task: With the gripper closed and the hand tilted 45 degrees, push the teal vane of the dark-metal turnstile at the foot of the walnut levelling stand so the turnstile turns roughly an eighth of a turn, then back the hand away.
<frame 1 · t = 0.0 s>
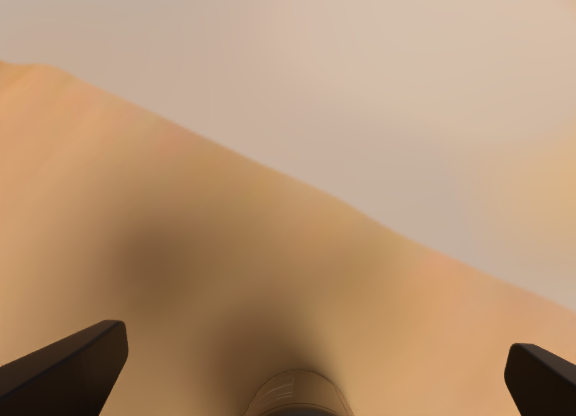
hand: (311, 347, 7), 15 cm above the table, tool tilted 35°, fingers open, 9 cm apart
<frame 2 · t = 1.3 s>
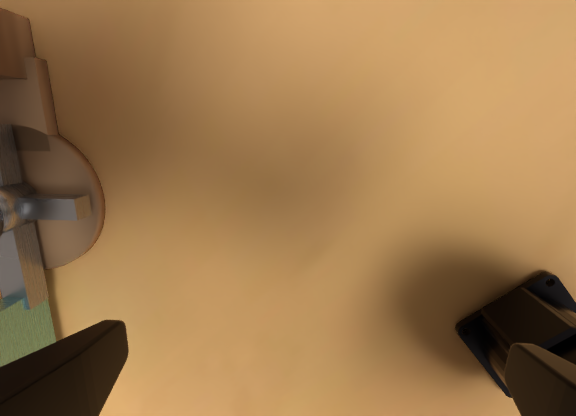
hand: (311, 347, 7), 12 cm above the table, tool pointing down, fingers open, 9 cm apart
stand: (35, 198, 20), on the table
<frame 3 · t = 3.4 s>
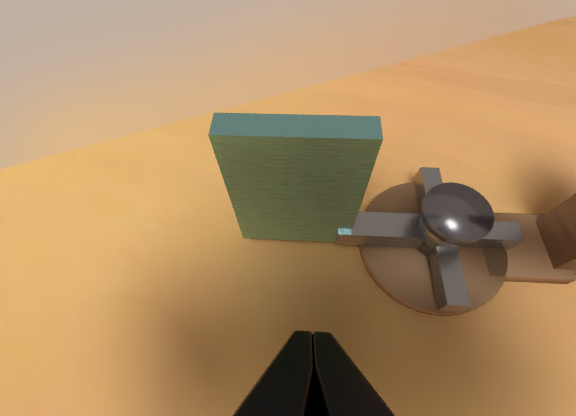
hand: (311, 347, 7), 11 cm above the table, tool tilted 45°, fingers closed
turnstile: (393, 195, 16), point 6 cm above the table, hinge at 0.0°
stand: (427, 245, 21), on the table
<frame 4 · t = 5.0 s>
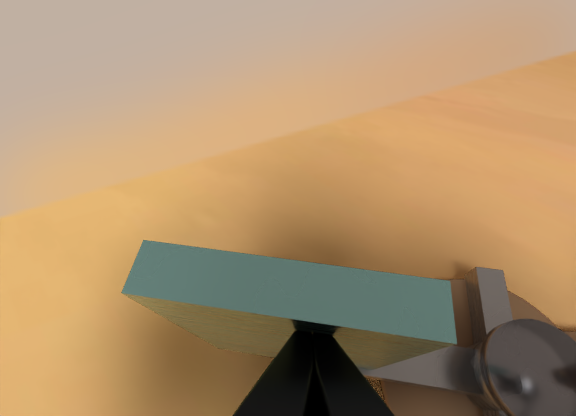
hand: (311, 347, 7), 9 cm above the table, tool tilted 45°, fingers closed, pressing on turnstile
turnstile: (444, 351, 10), point 6 cm above the table, hinge at 5.2°, touching gripper
stand: (477, 379, 15), on the table
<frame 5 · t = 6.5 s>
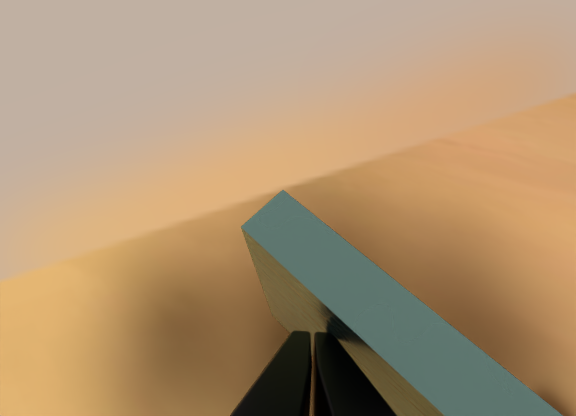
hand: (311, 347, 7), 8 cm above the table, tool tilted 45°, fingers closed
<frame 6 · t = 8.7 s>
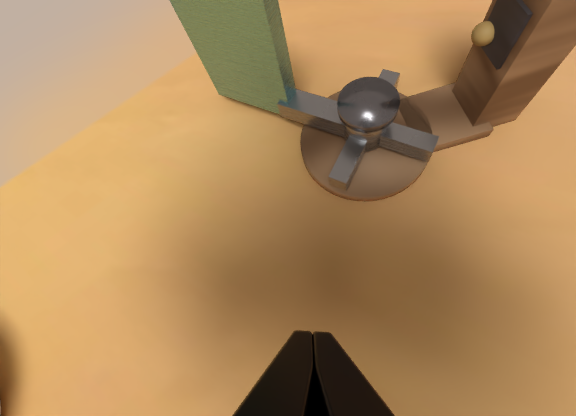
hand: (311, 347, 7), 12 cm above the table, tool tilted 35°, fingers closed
turnstile: (308, 69, 19), point 6 cm above the table, hinge at 40.9°
stand: (363, 143, 23), on the table
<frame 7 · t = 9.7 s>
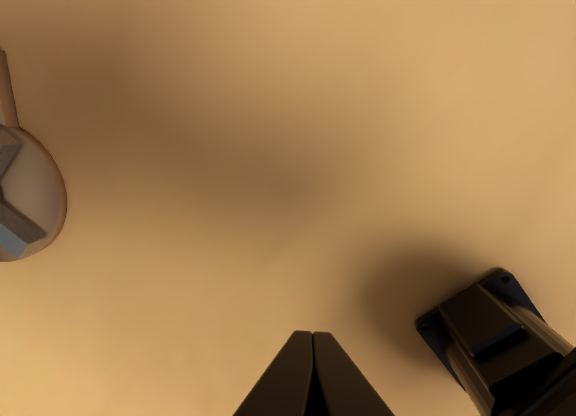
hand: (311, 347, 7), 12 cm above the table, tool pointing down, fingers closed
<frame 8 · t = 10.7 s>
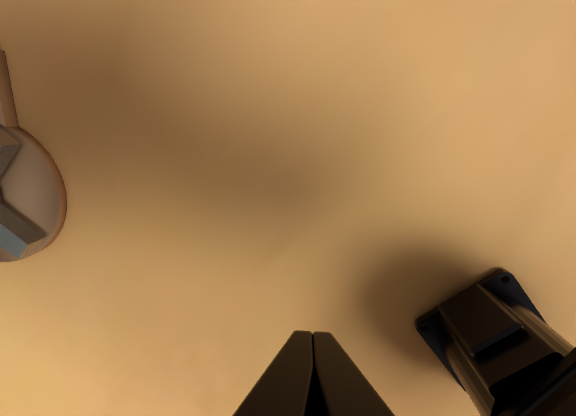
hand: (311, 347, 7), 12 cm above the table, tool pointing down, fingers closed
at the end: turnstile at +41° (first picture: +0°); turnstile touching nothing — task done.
